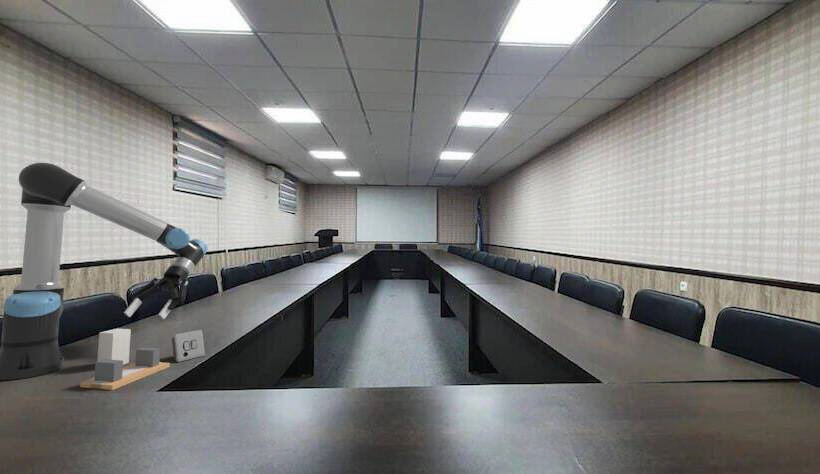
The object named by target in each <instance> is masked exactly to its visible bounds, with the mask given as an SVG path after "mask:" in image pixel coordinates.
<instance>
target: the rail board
mask: <svg viewBox="0 0 820 474" xmlns="http://www.w3.org/2000/svg"><path fill="white" fill-rule="evenodd" d="M160 355H161V347H160V348H159V347H140V348H137V349H136V351H135V363H132V364H131V365H127V366H124V364H123V361H122V360H109V359H104V360H100V361H98V360H97V361H95V363H94V364H95V367H94V377H92V378H90V379H87V380H84V381H82V382H80V383H79V384H80V385H79V387H80V388H87V389H88V388H89V389H98V390H110V391H113V390H115V389H118V388H120V387H123V386H126V385H128V384H131V383H134V382H135V381H138V380H141V379H143V378H146V377H147V376H150V375H153V374H155V373H158V372H160V371H163V370H165V369H168V368H170V367H171V363H170V362H162V361H160V357H161V356H160ZM123 366H124V367H123Z"/></svg>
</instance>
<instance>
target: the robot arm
mask: <svg viewBox="0 0 820 474" xmlns="http://www.w3.org/2000/svg"><path fill="white" fill-rule="evenodd" d="M18 183H19V185H20V187H21V188H22V189H21V201H20V205H21V206H22V207H23V208H24V209H25V210H26V211H27V213H26V224H25V232H24V233H25V235H24V245H23V256H22V266H21V267H22V268H21V269H22V270H21V281H20V283H19V284H18V285H16V286H15V287H14V288H13V291H12V294H11V295H9V296H7V297H6V298H5V300H4V304H3V306H2V311H3V317H2V318H3V319H2V331H1V343H0V344H1V345H0V381H10V380H20V379H28V378H34V377H37V376H42V375H46V374H50V373H53V372H56V371H59V370H61V369H62V368H64V365H65V357H64V356H63V351H62V350H61V347H60V345H59V341H58V340H59V328H60V326H59V325H60V318H61V316H62V314H63V312H64V310H65V303H64V292H65V286H64V285H62V284H61V283H60V282H59V281H60V280H59V279H60V267H61V257H62V256H61V254H62V243H63V231H64V230H63V229H64V218H65V217H64V216H65V213H67V212H68V211H69V210H71V207H72V206H74V207H76V208H79V209H81V210H83V211H85V212H88V213H89V214H92V215H94V216H97V217H99V218H102V219H104V220H106V221H109V222H111V223H113V224H115V225H117V226H120V227H123V228H125V229H128V231H132V232H134V233H137V234H138V235H140V236H141V235H142V236H144V237H146V238H147V239H150V240H152V241H155V242H156V243H157V244H160V245H161V246H163V247H164V248H166V249H167V250H169V251H170V252H172V253H174V254H175V255H176V256H177V257H176V258H175V259H174V261H173V262H172V263H171V264H170V266H169V267H168V268H167V269H166V271H164V273H163V277H162V278H160V279H158V278H157V277H154V278H152V279H151V281H149V282H148V283H146V285H144V286H143V287H141V288H140V289H138V290H137V291H135V292H134V293H132V294H131V297H132V298H133V300H132V301H131V302H130V303H129V305H128V307H127V308H126V309H125V311H124V312H123V313H124V315H125V316H127V318H130V317H132V316H133V314H134V313H135V312H136V311H137V310H138V308H139V307H140V306H141V305H142V304H143V302H142V301H144V300H146V299H148V298H150V297H152V296H153V295H155V294H157V293H161V292H170V294H171V299H168V301H167V302H166V304H165V305H164V306H163V308H162V309H161V310H160V311H159V313H158V316H159V317H160V318H161V319H162V320H165V319H166V317H168V314H169V313H170V312H171V311H173V309H174V308H175V307H176V306H177V305H179V303H182V304H183V303H185V301H186V294H187V288H188V286H189V285H190V283H189V282H188V280H187V279H188V277H189V276H190V275H191V273H192V272H193V271H194V269H195V268H196V266H197V265H198V264H199V263H200V262H201V260H202V259H203V258H204V257H205V255H206V253H207V252H208V245H207V244H206V243H205V242H204V241H202V240H200V239H198V238H195V239H193V238H192V240H191V238H190V234H189V233H188V231H186V230H185V229H184V228H179V227H176V226H175V225H172V224H169V223H168V222H166V221H164V220H161V219H159V218H157V217H155V216H153V215H151V214H149V213H147V212H145V211H142V210H141V209H138V208H136V207H134V206H132V205H130V204H127V203H126V202H123V201H121V200H118V199H117V198H115V197H112V196H110V194H109V195H108V194H106V193H104V192H102V191H100V190H98V189H95V188H93V187H91V186H89V185H88V184H87V182H86V180H84V179H82V178H80V177H77V176H75V175H74V174H73V173H70V172H68V171H66V170H65V169H64V168H62V167H60V166H58V165H56V164H53V163H48V162H35V163H34V162H33V163H32V164H29V165H27V166H25V167H24V168H22V170H21V171H20V173H19V175H18ZM178 287H179V290H178Z"/></svg>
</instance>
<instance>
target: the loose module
mask: <svg viewBox="0 0 820 474" xmlns="http://www.w3.org/2000/svg"><path fill="white" fill-rule="evenodd" d="M131 334H132V333H131V329H130V328H113V329H109V330H104V331H101V332H99V334H98V349H97V350H98V351H97V361H100V360H104V359H109V360H122V361H123V365H126V364H129V363H130V362H129V361H130V348H131V347H130V346H131Z"/></svg>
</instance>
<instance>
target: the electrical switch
mask: <svg viewBox="0 0 820 474" xmlns="http://www.w3.org/2000/svg"><path fill="white" fill-rule="evenodd" d="M171 343H172V352H173V353H172V354H173V360H174V361H176V362H177V363H181V362H184V361H188V360H192V359H196V358H200V357H204V356H205V354H206V353H205V352H206V351H205V343H204V335H203V330H202V329H198V330H197V329H196V330H193V331H187V332H181V333H176V334H174V335H173V337H172V338H171Z"/></svg>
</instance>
